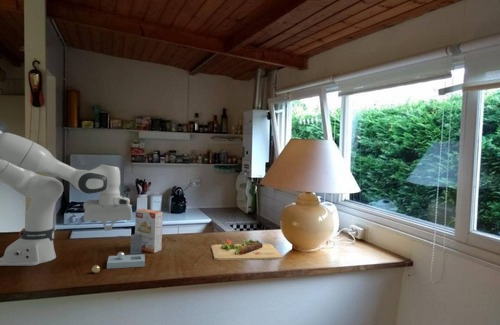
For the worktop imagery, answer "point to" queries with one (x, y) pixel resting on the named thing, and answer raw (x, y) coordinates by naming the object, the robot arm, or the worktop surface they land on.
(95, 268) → the brass ball
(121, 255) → the ball
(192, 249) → the worktop surface
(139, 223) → the cracker box
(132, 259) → the deck
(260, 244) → the cutting board
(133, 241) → the block
